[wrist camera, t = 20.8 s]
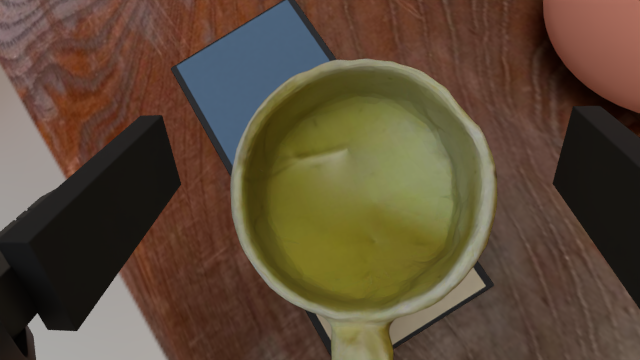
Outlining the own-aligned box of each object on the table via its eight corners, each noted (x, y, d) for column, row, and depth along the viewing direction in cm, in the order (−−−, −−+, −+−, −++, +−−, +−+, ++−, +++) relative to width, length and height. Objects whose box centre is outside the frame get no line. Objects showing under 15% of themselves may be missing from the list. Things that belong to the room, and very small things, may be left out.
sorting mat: (174, 72, 26) (169, 67, 25) (293, 0, 26) (291, -7, 26) (344, 377, 21) (344, 380, 20) (491, 285, 21) (495, 285, 20)
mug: (258, 79, 22) (261, 6, 12) (437, 122, 24) (567, 88, 14) (210, 307, 22) (174, 417, 12) (394, 336, 24) (493, 454, 14)
